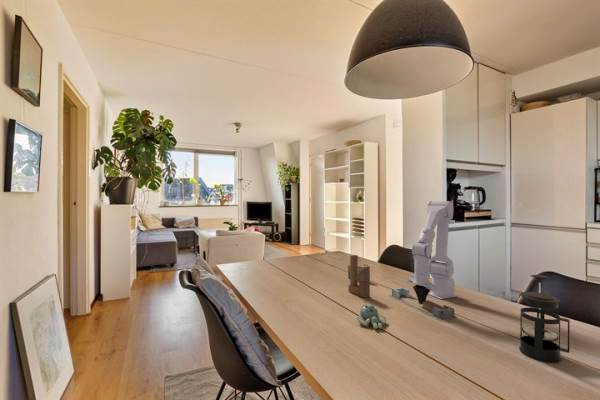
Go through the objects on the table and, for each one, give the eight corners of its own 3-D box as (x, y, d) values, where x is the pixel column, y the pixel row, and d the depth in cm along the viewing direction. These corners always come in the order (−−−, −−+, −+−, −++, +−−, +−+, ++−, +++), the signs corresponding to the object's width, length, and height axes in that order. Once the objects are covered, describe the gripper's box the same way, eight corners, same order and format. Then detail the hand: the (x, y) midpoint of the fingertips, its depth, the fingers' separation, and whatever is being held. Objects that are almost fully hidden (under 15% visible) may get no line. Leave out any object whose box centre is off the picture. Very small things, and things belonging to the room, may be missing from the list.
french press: (514, 353, 85) (514, 275, 85) (518, 342, 92) (518, 269, 92) (569, 370, 77) (569, 283, 77) (569, 355, 84) (569, 276, 84)
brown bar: (428, 307, 122) (428, 300, 122) (447, 316, 112) (447, 308, 112) (422, 308, 121) (422, 301, 121) (441, 317, 111) (441, 309, 111)
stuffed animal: (364, 317, 98) (353, 298, 110) (363, 336, 100) (351, 315, 111) (394, 315, 100) (379, 297, 112) (392, 333, 101) (378, 313, 113)
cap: (403, 294, 137) (403, 287, 137) (409, 296, 133) (409, 289, 133) (391, 295, 135) (391, 289, 135) (397, 298, 131) (397, 291, 131)
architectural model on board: (368, 281, 159) (368, 264, 159) (365, 283, 157) (365, 265, 157) (351, 278, 167) (351, 261, 167) (348, 279, 165) (348, 262, 165)
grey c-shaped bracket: (445, 313, 115) (445, 305, 115) (454, 317, 111) (454, 308, 111) (432, 315, 112) (432, 307, 112) (441, 319, 109) (441, 311, 109)
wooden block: (364, 298, 132) (364, 258, 132) (348, 291, 141) (348, 254, 141) (370, 296, 134) (370, 257, 134) (353, 290, 143) (353, 254, 143)
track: (403, 293, 138) (403, 292, 138) (456, 316, 112) (456, 315, 112) (388, 295, 135) (388, 294, 135) (439, 320, 108) (439, 318, 108)
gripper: (402, 268, 127) (402, 299, 127) (427, 276, 114) (427, 311, 114) (414, 266, 130) (414, 297, 130) (441, 274, 116) (441, 308, 116)
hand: (421, 303), depth 122 cm, fingers closed
